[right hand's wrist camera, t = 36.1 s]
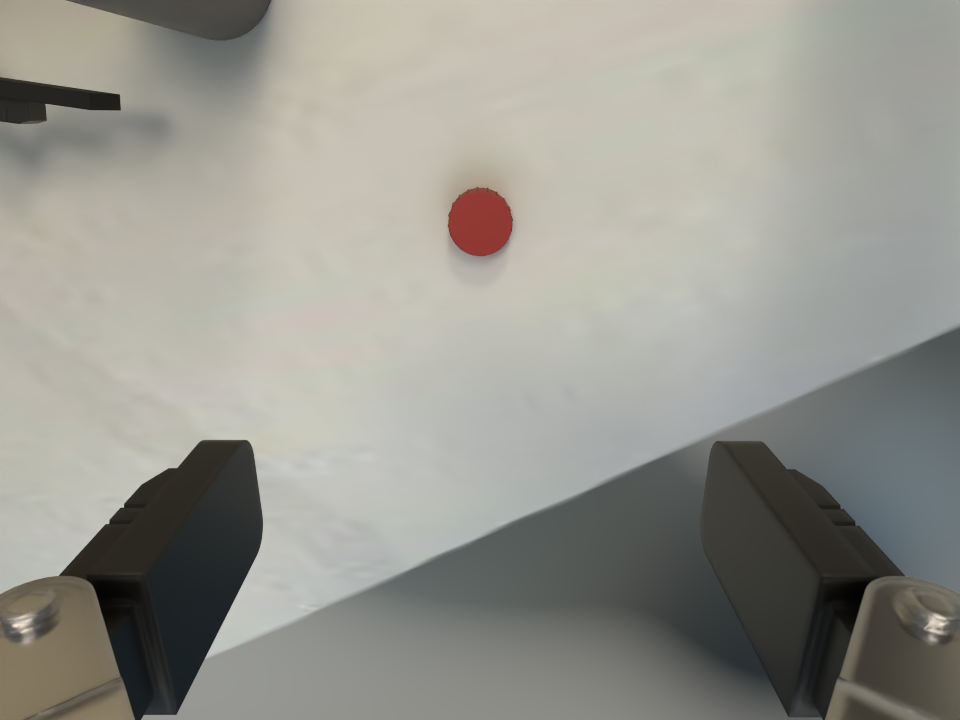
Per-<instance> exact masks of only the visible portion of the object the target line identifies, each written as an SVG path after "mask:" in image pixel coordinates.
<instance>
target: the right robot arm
mask: <svg viewBox="0 0 960 720" xmlns="http://www.w3.org/2000/svg"><path fill="white" fill-rule="evenodd" d="M700 528H701V539H702V544H703V548H704V551H705V554H706V556H707V558H708V560H709V562H710V564H711V566H712V568H713V570H714V572H715V574H716V576H717V578H718V580H719V582H720V584H721V586H722V588H723V590H724V591H725V594H726V596H727V598H728V599H729V601H730V603H731V605H732V607H733V609H734V611H735V613H736V615H737V617H738V619H739V621H740V623H741V625H742V627H743V629H744V631H745V633H746V635H747V637H748V639H749V641H750V642H751V644H752V646H753V648H754V650H755V652H756V654H757V656H758V658H759V660H760V662H761V664H762V666H763V668H764V670H765V672H766V674H767V676H768V678H769V680H770V682H771V684H772V686H773V688H774V689H775V691H776V693H777V695H778V697H779V699H780V701H781V703H782V705H783V707H784V709H785V711H786V713H787V715H788V717H822V719H823V720H960V594H958V593H956V592H954V591H952V590H950V589H948V588H946V587H943V586H941V585H938V584H935V583H932V582H929V581H926V580H922V579H918V578H913V577H906V576H905V575H904V574H903V573H902V572H901V571H900V570H899V569H898V568H897V567H896V565H895V564H894V563H893V562H892V561H891V560H890V559H889V558H888V557H887V556H886V555H885V553H884V552H883V551H882V550H881V549H880V548H879V547H878V546H877V545H876V544H875V543H874V542H873V540H872V539H871V538H870V537H869V536H868V535H867V534H866V533H865V532H864V531H863V530H862V528H861V527H860V526H856V525H855V521H854V520H853V519H852V518H851V516H850V515H849V514H848V513H847V512H846V511H845V510H844V509H841V508H840V504H839V503H838V502H837V501H836V500H835V499H834V498H833V497H832V496H831V495H830V494H829V493H828V491H827V490H826V489H825V488H824V487H823V486H822V485H820V484H818V483H817V482H815V481H813V480H812V479H810V478H808V477H807V476H805V475H803V474H802V473H800V472H798V471H797V470H795V469H786V468H785V467H784V465H783V464H782V463H781V462H780V461H779V460H778V458H777V457H776V456H775V455H774V454H773V453H772V451H771V450H770V449H769V448H768V447H767V446H766V445H765V444H764V443H763V442H761V441H717V442H715V443H714V444H713V446H712V448H711V452H710V457H709V464H708V471H707V478H706V485H705V492H704V499H703V506H702V513H701V523H700ZM262 532H263V517H262V509H261V502H260V495H259V488H258V481H257V474H256V467H255V460H254V453H253V449H252V446H251V444H250V443H249V442H248V441H247V440H202V441H200V442H199V443H198V444H197V446H196V447H195V448H194V449H193V450H192V452H191V453H190V454H189V455H188V456H187V457H186V459H185V460H184V461H183V462H182V463H181V464H180V466H179V467H178V468H169V469H167V470H165V471H164V472H162V473H160V474H159V475H157V476H155V477H154V478H152V479H150V480H149V481H147V482H145V483H144V484H142V485H141V486H140V487H139V488H138V489H137V490H136V492H135V493H134V494H133V495H132V496H131V497H130V498H129V499H128V500H127V501H126V503H125V504H124V508H120V509H119V510H118V511H117V512H116V514H115V515H114V516H113V517H112V518H111V519H110V523H109V524H106V525H105V526H104V527H103V528H102V529H101V530H100V531H99V532H98V533H97V534H96V536H95V537H94V538H93V539H92V540H91V541H90V542H89V543H88V544H87V545H86V546H85V548H84V549H83V550H82V551H81V552H80V553H79V554H78V555H77V556H76V557H75V559H74V560H73V561H72V562H71V563H70V564H69V565H68V566H67V567H66V568H65V570H64V571H63V572H62V573H61V574H60V575H59V576H55V577H47V578H42V579H38V580H34V581H31V582H28V583H25V584H22V585H19V586H17V587H14V588H12V589H10V590H8V591H6V592H4V593H2V594H0V720H141V718H142V717H143V715H176V714H177V712H178V710H179V708H180V706H181V704H182V703H183V701H184V699H185V696H186V695H187V692H188V691H189V689H190V687H191V685H192V683H193V681H194V679H195V677H196V675H197V673H198V671H199V669H200V667H201V665H202V663H203V661H204V659H205V657H206V655H207V653H208V651H209V649H210V647H211V645H212V643H213V641H214V639H215V637H216V635H217V633H218V631H219V629H220V627H221V625H222V623H223V621H224V619H225V617H226V615H227V613H228V611H229V609H230V607H231V605H232V603H233V601H234V599H235V598H236V596H237V594H238V592H239V590H240V588H241V586H242V584H243V582H244V580H245V578H246V576H247V574H248V572H249V570H250V568H251V566H252V564H253V562H254V560H255V558H256V556H257V554H258V551H259V548H260V544H261V540H262Z"/></svg>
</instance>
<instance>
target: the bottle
mask: <svg viewBox="0 0 960 720" xmlns="http://www.w3.org/2000/svg"><path fill="white" fill-rule="evenodd" d="M67 1H71V2H74V3H78V4H82V5H85V6H89V7H93V8H96V9H100V10H104V11H107V12H111V13H115V14H118V15H122V16H126V17H129V18H133V19H137V20H140V21H144V22H148V23H151V24H155V25H159V26H162V27H166V28H170V29H173V30H177V31H181V32H184V33H188V34H192V35H195V36H199V37H203V38H206V39H211V40H229V39H233V38H237V37H240V36H242V35H244V34H246V33H247V32H249V31H250V30H251V29H253V28H254V27H255V26H256V25H257V24H258V23H259V21H260V20H261V19H262V17H263V16H264V14H265V12H266V10H267V8H268V6H269V3H270V0H67Z"/></svg>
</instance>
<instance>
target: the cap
mask: <svg viewBox="0 0 960 720" xmlns="http://www.w3.org/2000/svg"><path fill="white" fill-rule="evenodd" d="M510 211H511V210H510V207H508V205H507V203H506V202H505V199H504V198H502V197H501V196H500V195H499V194H498V193H497V192H494V191H492V190H489V189H488V188H487V189H485V188H478V187H477V188H475V189H471V190H467V191H466V192H465V193H463V194H462V195H459V197H458V199H457V200H456V201H455V203H454V202H453V205H452V209H451V212H449V216H448V217H449V223H448V227H449V231H450V236H451V237H452V239H453V241H454V242H455V244H456V245H457V246H458V247H459V248H460V249H461V250H463V251H464V252H466V253H468V254H471V255H476V256H485V255H489V254H492V253H494V252H496V251H498V250H499V249H501V248H502V247H503V246H504V244H505V243H506V242H507V241H508V239H509V236H510V234H511V231H512V221H513V219H512V216H511V214H510Z"/></svg>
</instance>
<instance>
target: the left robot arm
mask: <svg viewBox="0 0 960 720" xmlns="http://www.w3.org/2000/svg"><path fill="white" fill-rule="evenodd" d="M45 104H52V105H59V106H66V107H73V108H80V109H87V110H121V108H120V95H119V94H112V93H105V92H98V91H91V90H84V89H77V88H70V87H63V86H56V85H50V84H43V83H36V82H29V81H22V80H15V79H8V78H1V77H0V121H2V122H9V123H16V124H34V123H40V122H44V121H47V118H46V107H45Z"/></svg>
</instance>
